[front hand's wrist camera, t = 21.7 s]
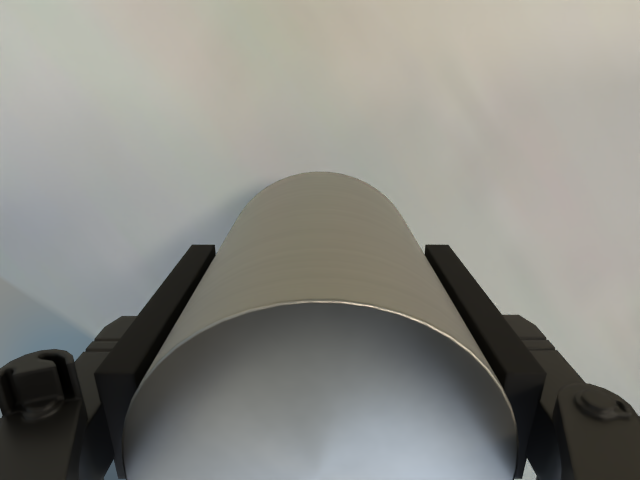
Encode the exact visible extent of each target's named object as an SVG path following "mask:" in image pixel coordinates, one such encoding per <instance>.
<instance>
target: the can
mask: <svg viewBox="0 0 640 480" xmlns="http://www.w3.org/2000/svg"><path fill="white" fill-rule="evenodd" d="M518 451H519V442H518V432H517V424H516V420H515V417H514V414H513V410H512V407H511V404H510V402H509V400H508V398H507V396H506V394H505V392H504V390H503V388H502V386H501V384H500V382H499V380H498V379H497V377H496V375H495V374H494V372H493V370H492V369H491V367H490V365H489V363H488V362H487V360H486V358H485V357H484V355H483V353H482V352H481V350H480V348H479V346H478V345H477V343H476V341H475V340H474V338H473V336H472V335H471V333H470V331H469V329H468V328H467V326H466V324H465V323H464V321H463V319H462V318H461V316H460V314H459V312H458V311H457V309H456V307H455V306H454V304H453V302H452V301H451V299H450V297H449V296H448V294H447V292H446V290H445V289H444V287H443V285H442V284H441V282H440V280H439V279H438V277H437V275H436V273H435V272H434V270H433V268H432V267H431V265H430V263H429V262H428V260H427V258H426V256H425V255H424V253H423V251H422V250H421V248H420V246H419V245H418V243H417V241H416V239H415V238H414V236H413V234H412V233H411V231H410V229H409V228H408V226H407V224H406V223H405V221H404V219H403V217H402V216H401V214H400V213H399V211H398V210H397V209H396V207H395V206H394V205H393V204H392V203H391V201H390V200H389V199H388V198H387V197H386V196H384V195H383V194H382V193H381V192H380V191H378V190H377V189H376V188H374V187H372V186H371V185H369V184H367V183H366V182H363V181H361V180H359V179H356V178H354V177H351V176H347V175H344V174H339V173H332V172H309V173H301V174H297V175H293V176H289V177H287V178H284V179H282V180H279V181H277V182H275V183H273V184H271V185H270V186H268V187H266V188H265V189H264V190H262V191H261V192H260V193H258V194H257V195H256V196H255V197H254V198H253V199H252V200H251V201H250V202H249V203H248V204H247V205H246V206H245V208H244V209H243V210H242V212H241V213H240V215H239V216H238V218H237V220H236V222H235V223H234V225H233V227H232V228H231V230H230V232H229V233H228V235H227V237H226V239H225V240H224V242H223V244H222V245H221V247H220V249H219V250H218V252H217V254H216V256H215V257H214V259H213V261H212V262H211V264H210V266H209V267H208V269H207V271H206V273H205V274H204V276H203V278H202V279H201V281H200V283H199V284H198V286H197V288H196V290H195V291H194V293H193V295H192V296H191V298H190V300H189V301H188V303H187V305H186V307H185V308H184V310H183V312H182V313H181V315H180V317H179V318H178V320H177V322H176V324H175V325H174V327H173V329H172V330H171V332H170V334H169V335H168V337H167V339H166V341H165V342H164V344H163V346H162V347H161V349H160V351H159V352H158V354H157V356H156V358H155V359H154V361H153V363H152V364H151V366H150V368H149V369H148V371H147V373H146V375H145V376H144V378H143V380H142V382H141V383H140V385H139V387H138V389H137V390H136V392H135V394H134V396H133V398H132V400H131V403H130V406H129V408H128V411H127V414H126V417H125V421H124V428H123V434H122V462H123V467H124V472H125V477H126V480H514V477H515V473H516V469H517V464H518Z"/></svg>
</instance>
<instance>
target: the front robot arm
mask: <svg viewBox="0 0 640 480" xmlns="http://www.w3.org/2000/svg"><path fill="white" fill-rule="evenodd" d="M215 256H216V253H215V245H192V246H191V247H190V248H189V249H188V251H187V252H186V253H185V255H184V256H183V257H182V259H181V260H180V261H179V262H178V264H177V265H176V266H175V268H174V269H173V270H172V272H171V273H170V274H169V276H168V277H167V278H166V279H165V281H164V282H163V283H162V285H161V286H160V287H159V289H158V290H157V291H156V293H155V294H154V295H153V296H152V298H151V299H150V300H149V302H148V303H147V304H146V306H145V307H144V308H143V309H142V311H141V312H140V313H139V315H138V316H121V317H120V318H118V319H117V320H115V321H113V322H112V323H110V324H109V325H107V326H105V327H104V329H103V330H102V331H101V332H100V333H99V334H98V336H97V337H96V338H95V341H93V342H92V343H91V344H90V345H89V346H88V347H87V348H86V352H83V353H82V354H81V355H80V356H79V358H78V359H77V360H76V361H75V362H74V359H73V356H72V355H71V354H70V353H68V352H67V351H64V350H57V349H51V350H41V351H37V352H33V353H30V354H26V355H24V356H21V357H19V358H17V359H15V360H13V361H10V362H9V363H7V364H6V365H5V366H3V367H2V368H0V409H1V412H2V415H3V416H2V418H0V480H104V476H105V474H106V472H107V470H108V468H109V467H110V465H111V463H112V461H113V459H114V462H115V466H116V471H117V475H118V478H119V479H126V477H125V472H124V467H123V462H122V434H123V428H124V421H125V417H126V414H127V411H128V408H129V406H130V403H131V400H132V398H133V396H134V394H135V392H136V390H137V389H138V387H139V385H140V383H141V382H142V380H143V378H144V376H145V375H146V373H147V371H148V369H149V368H150V366H151V364H152V363H153V361H154V359H155V358H156V356H157V354H158V352H159V351H160V349H161V347H162V346H163V344H164V342H165V341H166V339H167V337H168V335H169V334H170V332H171V330H172V329H173V327H174V325H175V324H176V322H177V320H178V318H179V317H180V315H181V313H182V312H183V310H184V308H185V307H186V305H187V303H188V301H189V300H190V298H191V296H192V295H193V293H194V291H195V290H196V288H197V286H198V284H199V283H200V281H201V279H202V278H203V276H204V274H205V273H206V271H207V269H208V267H209V266H210V264H211V262H212V261H213V259H214V257H215ZM425 256H426V258H427V260H428V262H429V263H430V265H431V267H432V268H433V270H434V272H435V273H436V275H437V277H438V279H439V280H440V282H441V284H442V285H443V287H444V289H445V290H446V292H447V294H448V296H449V297H450V299H451V301H452V302H453V304H454V306H455V307H456V309H457V311H458V312H459V314H460V316H461V318H462V319H463V321H464V323H465V324H466V326H467V328H468V329H469V331H470V333H471V335H472V336H473V338H474V340H475V341H476V343H477V345H478V346H479V348H480V350H481V352H482V353H483V355H484V357H485V358H486V360H487V362H488V363H489V365H490V367H491V369H492V370H493V372H494V374H495V375H496V377H497V379H498V380H499V382H500V384H501V386H502V388H503V390H504V392H505V394H506V396H507V398H508V400H509V402H510V404H511V407H512V410H513V414H514V417H515V420H516V424H517V432H518V442H519V451H518V464H517V469H516V473H515V477H514V479H522V476H523V472H524V468H525V463H526V459H528V460H529V462H530V464H531V466H532V468H533V470H534V471H535V473H536V475H537V477H536V480H640V416H638V415H637V414H636V412H635V411H634V409H633V408H632V407H631V405H630V404H628V403H627V402H626V401H625V400H623V399H622V398H621V397H620V396H618V395H616V394H614V393H612V392H610V391H608V390H606V389H604V388H601V387H598V386H595V385H592V384H586V383H585V382H584V381H583V379H582V378H581V377H580V376H579V375H578V374H577V373H576V371H575V370H574V369H573V368H572V367H571V366H570V365H569V363H568V362H567V361H566V360H565V359H564V358H563V356H562V355H561V354H560V353H559V352H558V351H557V350H555V347H554V346H553V345H552V344H551V343H550V342H549V340H546V337H545V336H544V335H543V333H542V332H541V331H540V330H539V329H538V328H537V327H536V325H534V324H532V323H531V322H529V321H528V320H526V319H524V318H523V317H521V316H520V315H502V314H501V313H500V312H499V310H498V309H497V308H496V306H495V305H494V304H493V303H492V301H491V300H490V299H489V297H488V296H487V295H486V293H485V292H484V291H483V290H482V288H481V287H480V286H479V284H478V283H477V282H476V280H475V279H474V278H473V276H472V275H471V274H470V273H469V271H468V270H467V269H466V267H465V266H464V265H463V263H462V262H461V261H460V260H459V258H458V257H457V256H456V254H455V253H454V252H453V250H452V249H451V248H450V246H449V245H426V246H425Z"/></svg>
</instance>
